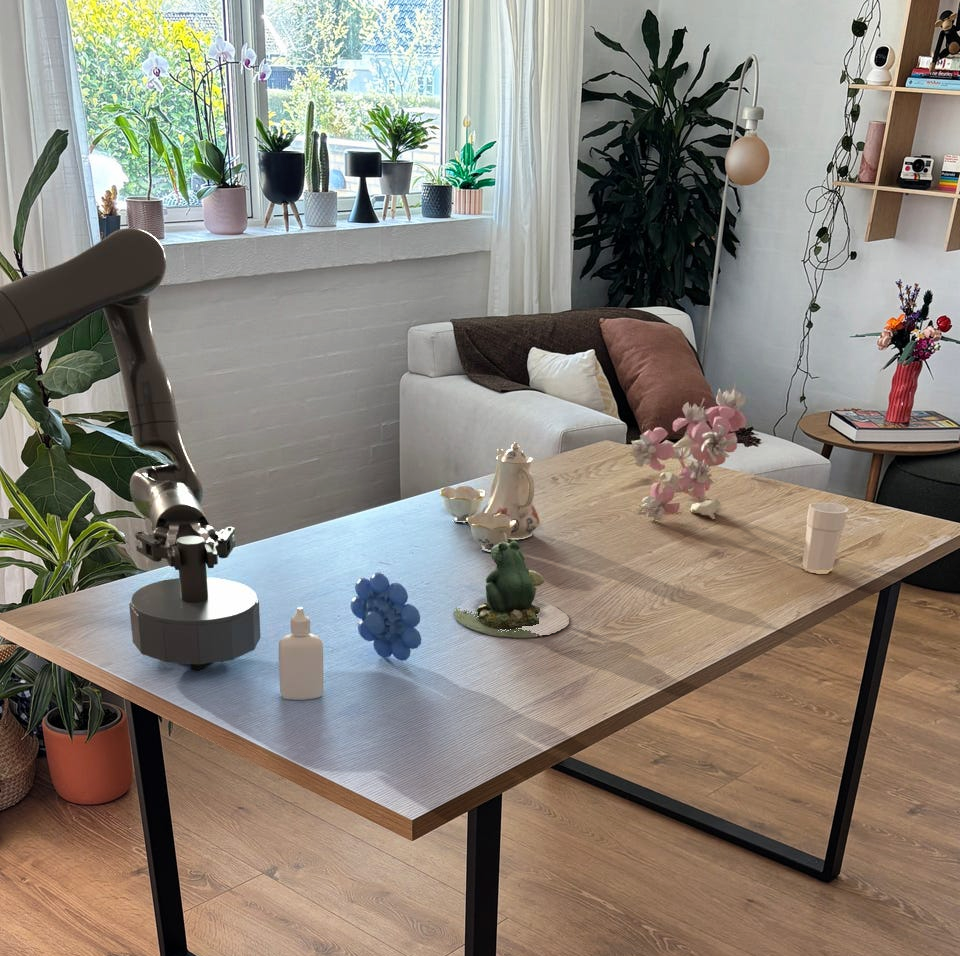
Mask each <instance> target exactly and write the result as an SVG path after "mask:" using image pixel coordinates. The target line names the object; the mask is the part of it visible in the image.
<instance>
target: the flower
mask: <svg viewBox="0 0 960 956" xmlns="http://www.w3.org/2000/svg"><path fill="white" fill-rule="evenodd" d="M736 388H737V381H735V382H734V384H733V388H730V390H729V389H725V391H723V393H722V391H721V388H720V387H719V388H718V391H717V395H716V398H715V403H716V404H717V406H716V405H715V406H711V407H708V408H705V406H703V404H704V402H705V397H703V398H702V401H701V403H700V406H698V405H697V404H696V403H693V405H692V404H691V403H690V404H689V401H687V402H686V403H685V404H683V406H682V408H681V411H682V412H683V414H684V417H677V419H675V420H674V421H673V422H672V430H673V431H674V432H677V431H678V430H680V429H682V428H683V427H684V426H686V425H687V427H686V431H685V433H684V434H683V437H682V438H681V439H679V440H678V441H677V442H676V443H674V442H672V441H670V440H668V439H665V438H666V437H668V435H669V433H668V431H667V430H666V429H665V428H663V427H661V426H660V427H655V428H654V429H653V430H651V429H648V430H647V431H645V432H643V433H642V434H639V439H637V440H631V441H630V442H631V444H632V445H631V449H632V450H630V451H628V453H629V454H630V455H629V457H633V458H634V459H635V461H634V465H636V466H637V467H639V468H643V467H644V465H646V466H649V468H651V469H653V470H655V471H657V472H661V471H663V470H665V469H666V465H665V464H663V463H661V462H660V461H659V460H661V461H664V462H665V461H667V460H670V459H672V460H678V461H679V464H680V466H681V470H680V471H679V474H678V475H676V474H674V473H673V472H669V471H665V472H662V473H660V476H659V477H660V481H656V482H654V483H653V484H652V485H651V486H650V493H649V496H644V497H643V498H642V501H641V503H644V504H642V505H641V506H640V509H641V510H642V511H641V513H644V514H643V515H640V518H643V516H644V515H646V516H645V518H646V517H652V520H653V519H654V520H659V521H661V516H662V515H667V516H669V515H676V514H678V512H679V509H680V507H681V505H680V504H681V503H680V502H676V503H670V502H671V501H673V499H674V497H675V495H676V494H678V493H679V494H680V493H681V494H682V493H683V494H685V495H688V496H690V497H691V498H692V499H693V500H695V501H696V502H695V503H691V505H690V510H691V512H692V513H695V512H696V513H699V514H700V515H702V516H709V517H710V518H711V519H712V520H713V519H716V516H715V513H716V511H717V510H718V509H719V507H720V500H719V499H716V498H715V499H714V498H713V499H706V492H707V491H709V490H710V487H711V486H712V484H715V482H714V480H713V479H712V478H711V477H712V473H710V470H712V468H710V467H717V466H720V465H723V464H724V463H726V458H730V454H729V453H734V452H735V451H736V450H737V447H738V438H737V435H736V431H739V430H740V429H743V428H744V427H745V426H746V424H747V418H746V415H745V414H744V413H743V412H742V411H740V409H741V407H743V406H744V405H745V403H746V394H742V391H740V392H738V391H737V390H736ZM707 422H709V425H708V423H707ZM711 427H712V428H711ZM729 432H731V433H729ZM664 439H665V440H664ZM663 440H664V441H663ZM662 441H663V442H662ZM679 449H681V450H680V451H679ZM690 456H692V458H693V459H694V460H695V461H696V464H695V463H694V460H692V461H691V462H690V463H689V464H688V465H687V466H686V463H685V461H686V460H687V459H688V458H689V457H690ZM708 473H709V474H708ZM680 477H681V478H680ZM661 483H662V484H663V485H664V487H663V488H661V490H660V487H661ZM691 512H690V513H691Z"/></svg>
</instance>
